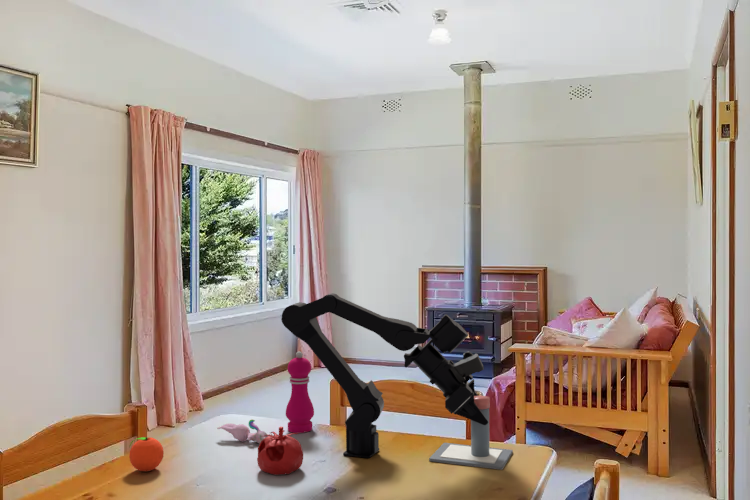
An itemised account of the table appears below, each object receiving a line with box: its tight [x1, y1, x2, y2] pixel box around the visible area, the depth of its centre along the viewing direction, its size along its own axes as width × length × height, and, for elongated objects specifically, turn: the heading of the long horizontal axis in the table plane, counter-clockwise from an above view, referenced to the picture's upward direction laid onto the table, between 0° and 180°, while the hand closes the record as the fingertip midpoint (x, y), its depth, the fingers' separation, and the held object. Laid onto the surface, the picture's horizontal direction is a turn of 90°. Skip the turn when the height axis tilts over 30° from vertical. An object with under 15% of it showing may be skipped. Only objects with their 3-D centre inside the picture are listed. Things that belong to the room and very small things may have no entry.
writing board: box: [428, 442, 513, 471], centre depth 151 cm, size 16×12×1 cm
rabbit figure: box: [216, 419, 274, 445], centre depth 164 cm, size 6×6×15 cm
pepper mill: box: [285, 351, 315, 434], centre depth 173 cm, size 7×7×20 cm
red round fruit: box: [256, 426, 304, 476], centre depth 143 cm, size 10×10×9 cm
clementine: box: [129, 436, 164, 472], centre depth 144 cm, size 8×7×7 cm
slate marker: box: [470, 395, 491, 457], centre depth 150 cm, size 4×4×12 cm
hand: (486, 418), depth 150 cm, fingers open, 9 cm apart
